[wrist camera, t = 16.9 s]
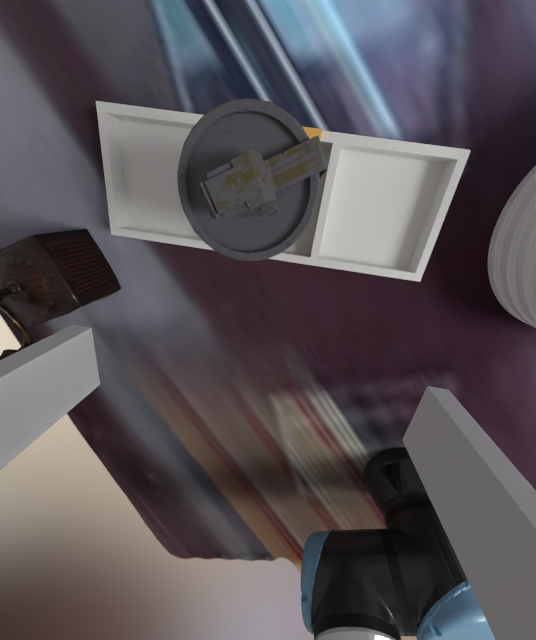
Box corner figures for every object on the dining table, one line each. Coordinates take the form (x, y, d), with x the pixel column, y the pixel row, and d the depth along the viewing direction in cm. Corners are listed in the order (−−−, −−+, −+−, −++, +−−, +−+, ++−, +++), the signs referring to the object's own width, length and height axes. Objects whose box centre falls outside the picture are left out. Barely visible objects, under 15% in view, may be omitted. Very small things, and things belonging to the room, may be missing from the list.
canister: (249, 249, 37) (204, 288, 19) (218, 174, 34) (127, 132, 16) (322, 220, 35) (351, 232, 16) (296, 135, 31) (297, 30, 13)
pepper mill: (35, 251, 42) (-133, 278, 25) (87, 227, 39) (-62, 239, 23) (90, 332, 47) (-20, 398, 31) (139, 315, 45) (48, 377, 28)
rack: (453, 156, 31) (473, 149, 28) (409, 275, 37) (421, 282, 34) (115, 111, 33) (92, 99, 29) (126, 232, 39) (108, 234, 35)
